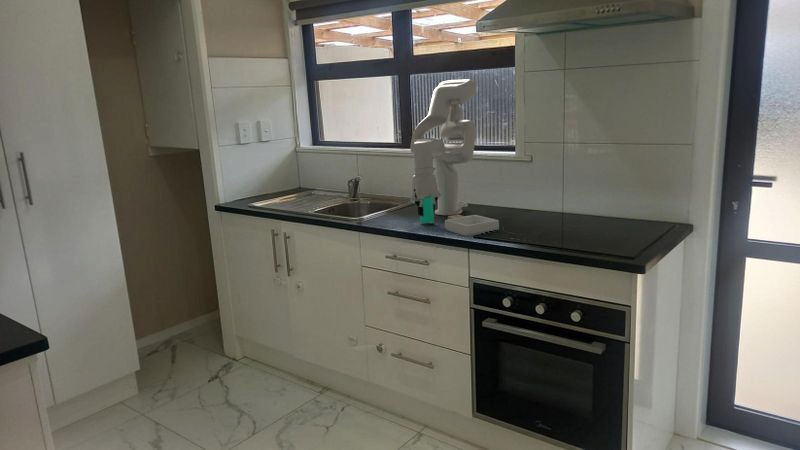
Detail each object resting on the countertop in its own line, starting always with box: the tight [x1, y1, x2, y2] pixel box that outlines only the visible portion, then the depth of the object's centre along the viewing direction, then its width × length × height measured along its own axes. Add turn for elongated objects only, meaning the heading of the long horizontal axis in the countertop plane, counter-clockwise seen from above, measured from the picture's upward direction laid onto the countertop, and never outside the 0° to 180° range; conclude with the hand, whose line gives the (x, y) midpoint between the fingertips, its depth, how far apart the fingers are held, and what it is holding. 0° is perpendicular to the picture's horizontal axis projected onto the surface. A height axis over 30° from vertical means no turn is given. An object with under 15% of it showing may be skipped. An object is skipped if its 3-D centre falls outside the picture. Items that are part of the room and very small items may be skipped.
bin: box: [444, 214, 500, 237], centre depth 229 cm, size 15×15×4 cm
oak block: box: [447, 214, 465, 220], centre depth 239 cm, size 5×5×4 cm
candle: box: [419, 196, 435, 224], centre depth 243 cm, size 6×6×12 cm
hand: (426, 214), depth 244 cm, fingers closed on candle, 4 cm apart
